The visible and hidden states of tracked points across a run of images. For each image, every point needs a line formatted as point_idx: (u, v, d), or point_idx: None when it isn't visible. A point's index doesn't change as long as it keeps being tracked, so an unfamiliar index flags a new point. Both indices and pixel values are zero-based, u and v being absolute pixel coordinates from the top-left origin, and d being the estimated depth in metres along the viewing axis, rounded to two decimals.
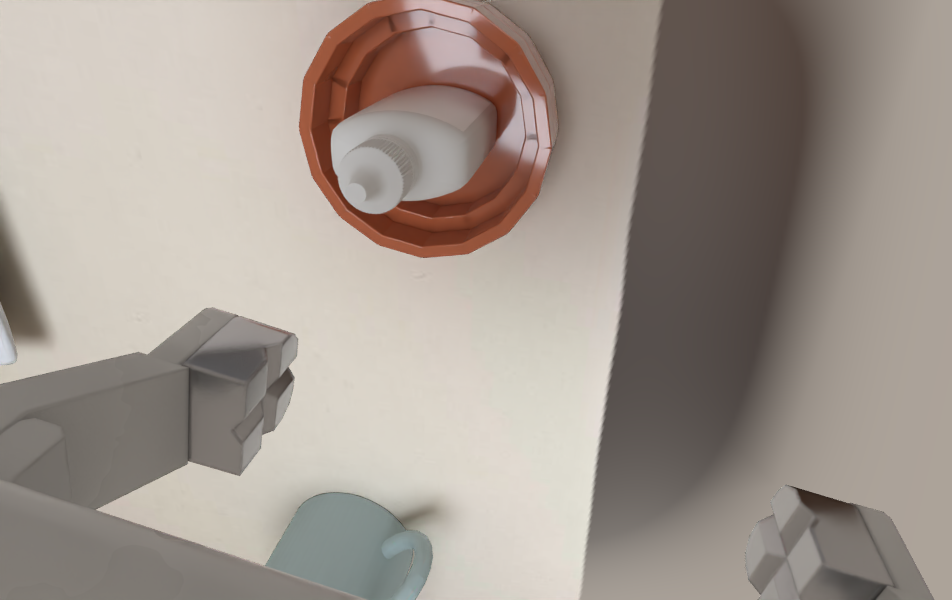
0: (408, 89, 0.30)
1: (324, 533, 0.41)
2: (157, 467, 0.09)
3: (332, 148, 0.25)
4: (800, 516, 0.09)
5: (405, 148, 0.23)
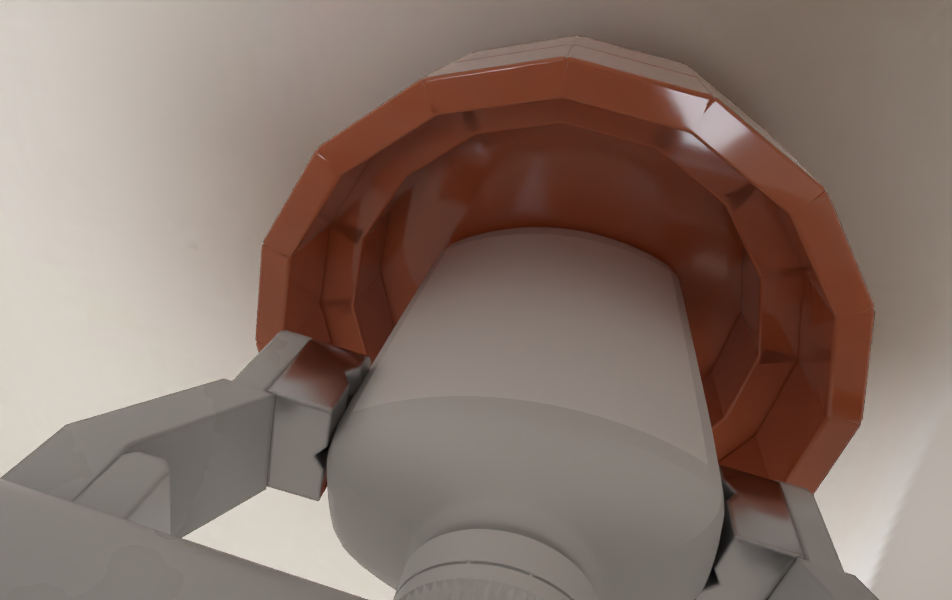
0: (494, 242, 0.14)
1: None
2: (239, 493, 0.09)
3: (330, 493, 0.09)
4: None
5: (570, 587, 0.07)
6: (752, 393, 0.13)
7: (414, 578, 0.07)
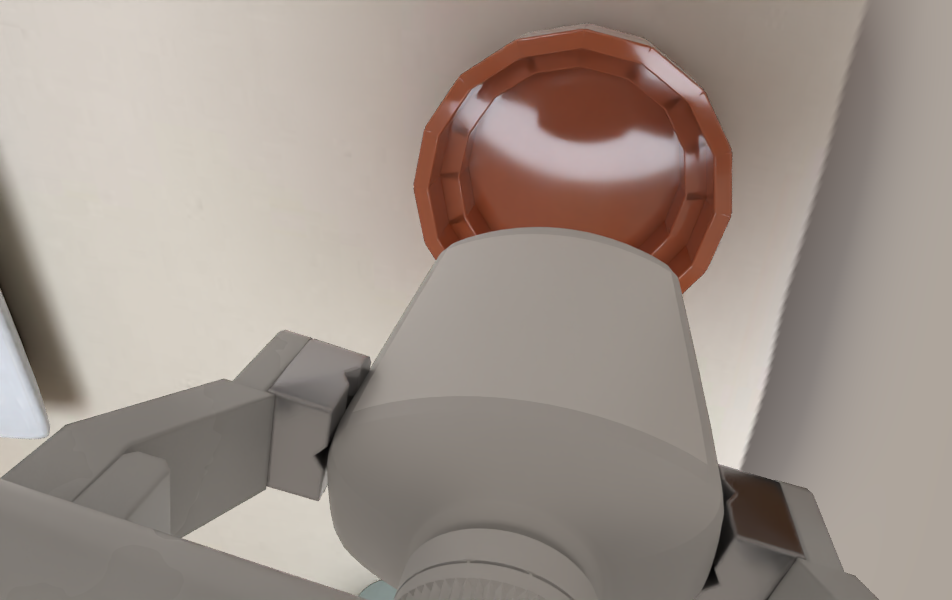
0: (494, 242, 0.14)
1: None
2: (239, 493, 0.09)
3: (330, 494, 0.09)
4: None
5: (569, 586, 0.07)
6: (683, 219, 0.24)
7: (414, 577, 0.07)
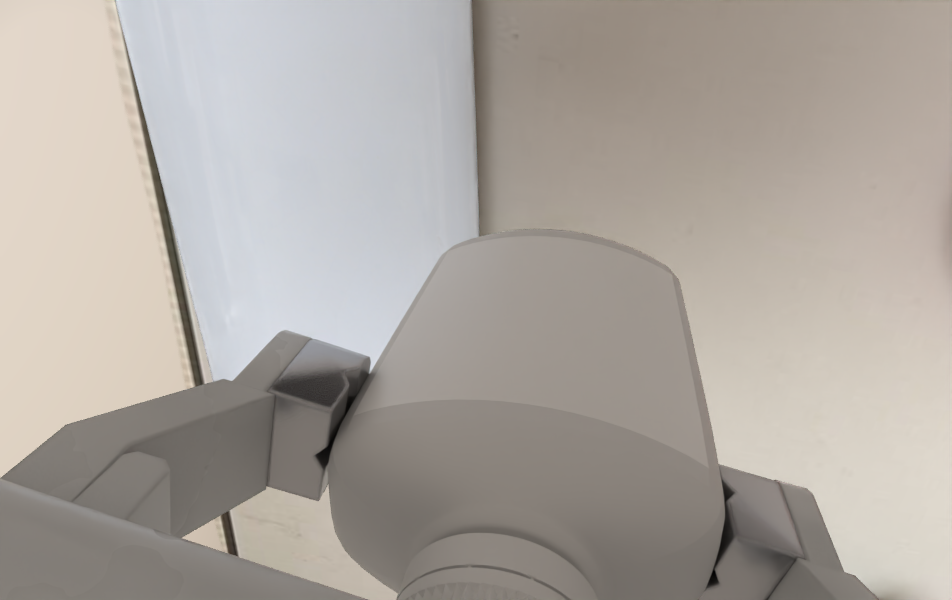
0: (495, 244, 0.14)
1: None
2: (238, 493, 0.09)
3: (332, 497, 0.09)
4: None
5: (571, 590, 0.07)
6: None
7: (416, 582, 0.07)
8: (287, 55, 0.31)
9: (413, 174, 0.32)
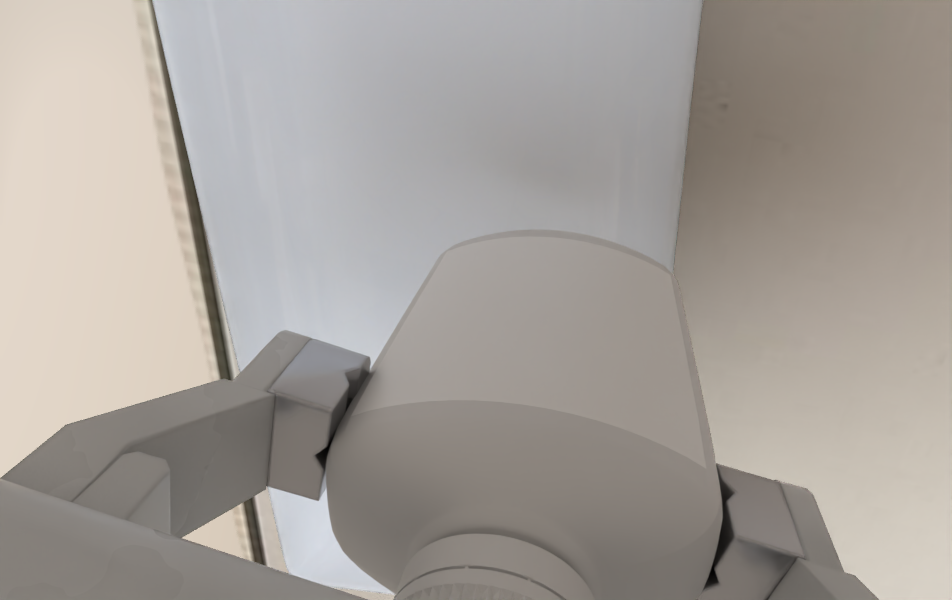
0: (493, 244, 0.14)
1: None
2: (239, 493, 0.09)
3: (329, 498, 0.09)
4: (721, 492, 0.09)
5: (568, 592, 0.07)
6: None
7: (413, 583, 0.07)
8: (399, 132, 0.23)
9: None
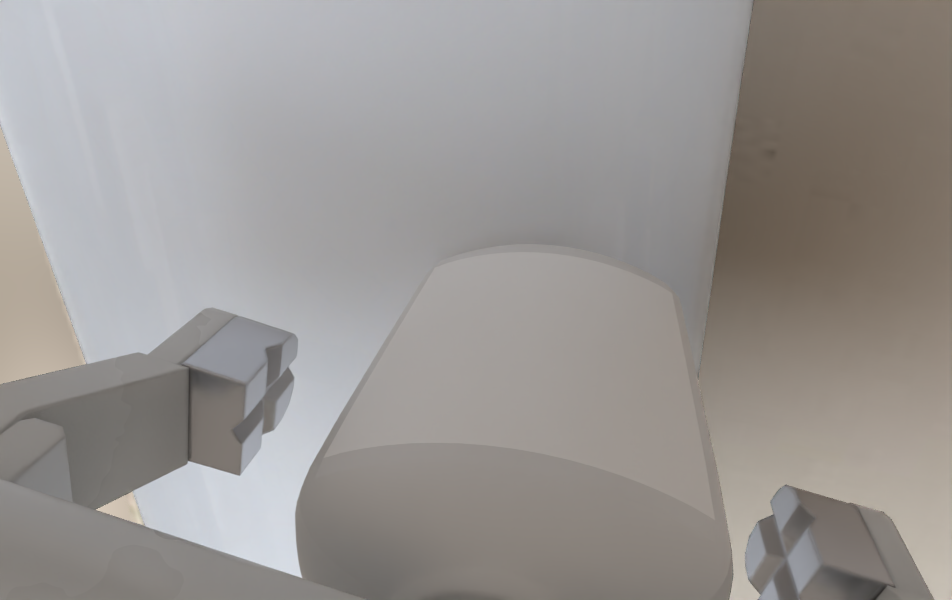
0: (484, 260, 0.13)
1: None
2: (156, 467, 0.09)
3: (298, 549, 0.08)
4: (800, 516, 0.09)
5: None
6: None
7: None
8: (324, 184, 0.17)
9: None
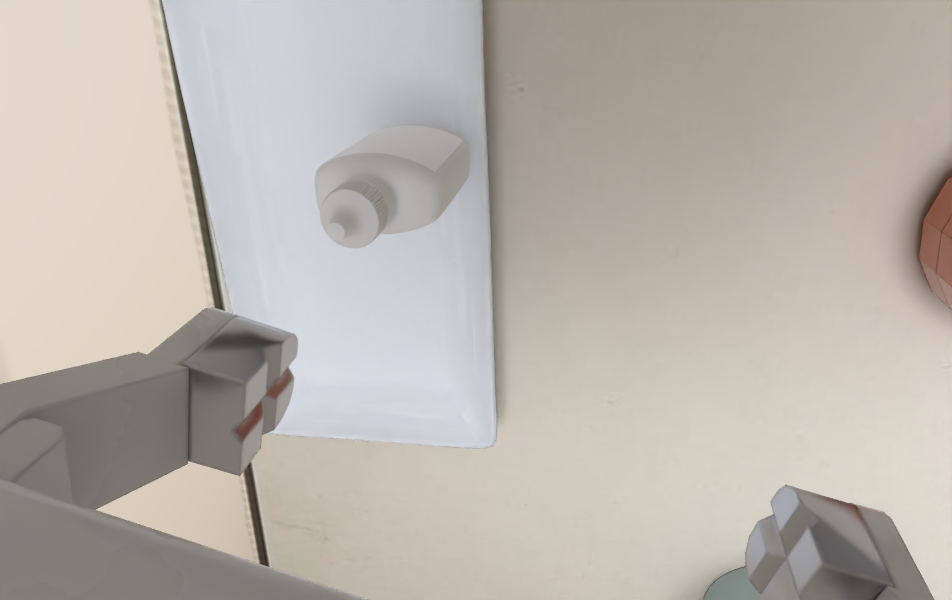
0: (387, 128, 0.32)
1: None
2: (157, 467, 0.09)
3: (316, 187, 0.27)
4: (800, 516, 0.09)
5: (381, 188, 0.25)
6: None
7: None
8: (322, 108, 0.36)
9: None
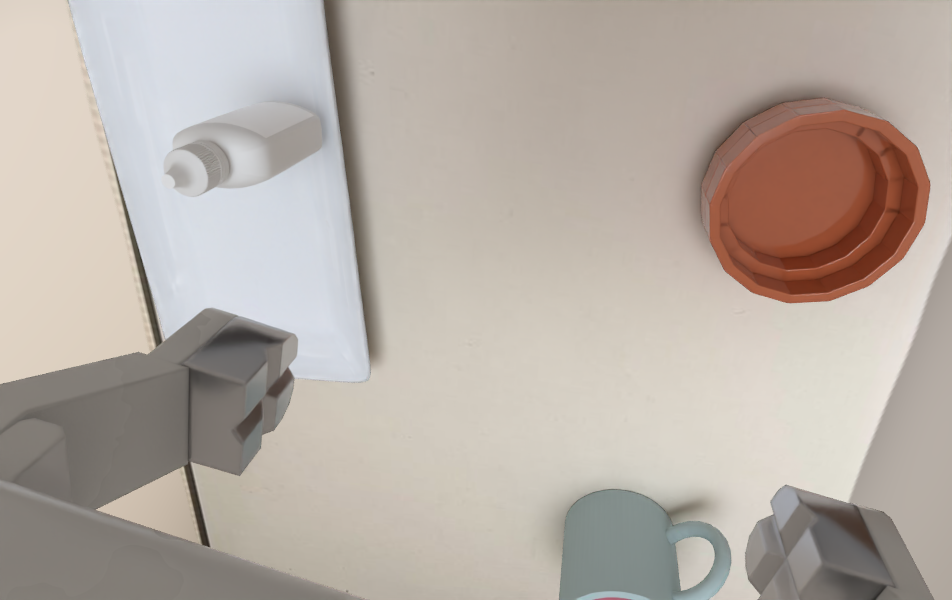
0: (251, 104, 0.39)
1: (623, 523, 0.49)
2: (157, 467, 0.09)
3: (173, 150, 0.34)
4: (800, 516, 0.09)
5: (215, 149, 0.32)
6: (881, 225, 0.37)
7: None
8: (208, 87, 0.42)
9: (305, 174, 0.44)
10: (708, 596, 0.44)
